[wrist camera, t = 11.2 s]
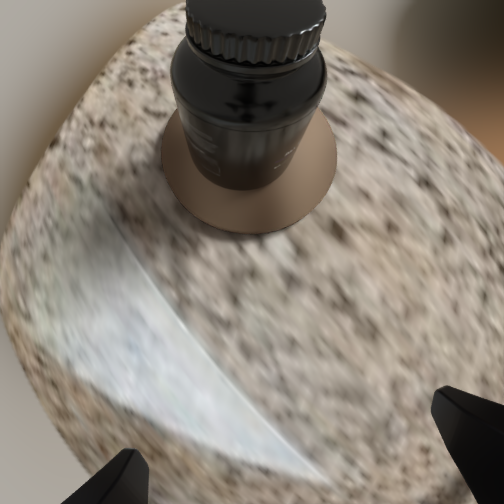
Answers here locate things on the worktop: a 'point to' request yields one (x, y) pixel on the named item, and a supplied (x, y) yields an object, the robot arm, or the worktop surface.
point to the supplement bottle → (248, 85)
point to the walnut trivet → (258, 200)
